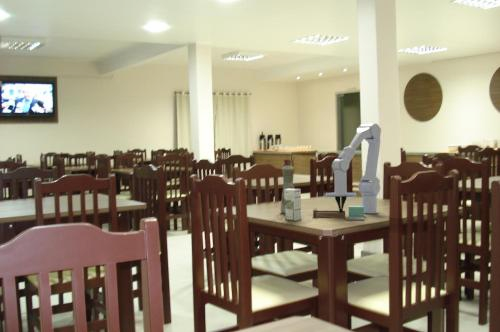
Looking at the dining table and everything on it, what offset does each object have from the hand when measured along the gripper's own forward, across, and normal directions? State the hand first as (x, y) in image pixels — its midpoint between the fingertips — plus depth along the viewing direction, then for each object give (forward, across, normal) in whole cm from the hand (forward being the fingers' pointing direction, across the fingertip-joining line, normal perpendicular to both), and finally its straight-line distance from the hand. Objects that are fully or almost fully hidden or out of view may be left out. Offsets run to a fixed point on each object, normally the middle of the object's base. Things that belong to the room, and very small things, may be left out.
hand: (341, 212), depth 258 cm
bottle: (+2, -26, +11) cm, 28 cm away
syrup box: (+2, -22, -11) cm, 25 cm away
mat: (+2, +6, -9) cm, 11 cm away
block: (+2, +7, 0) cm, 7 cm away
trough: (+2, -6, 0) cm, 6 cm away
